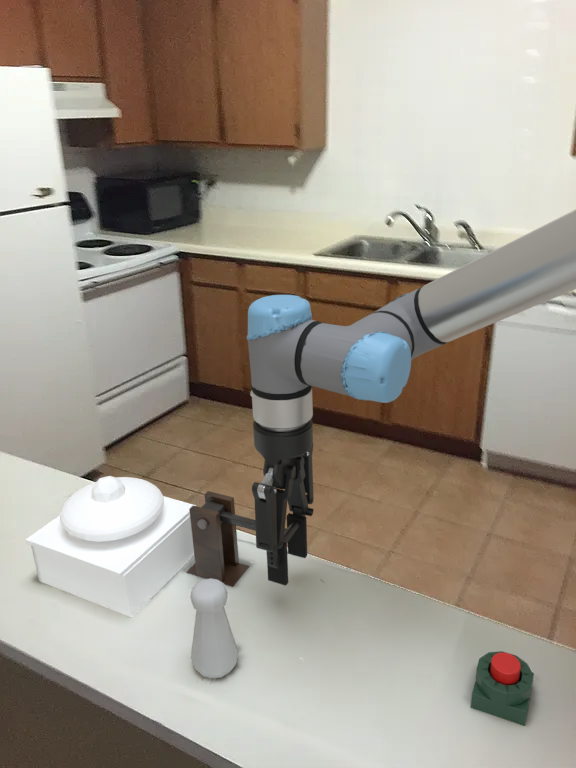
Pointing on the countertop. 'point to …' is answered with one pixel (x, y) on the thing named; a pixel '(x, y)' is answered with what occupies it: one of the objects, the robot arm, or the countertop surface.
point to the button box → (502, 692)
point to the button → (505, 668)
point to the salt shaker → (212, 630)
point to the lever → (246, 520)
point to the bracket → (215, 543)
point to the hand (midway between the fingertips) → (288, 567)
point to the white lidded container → (114, 543)
